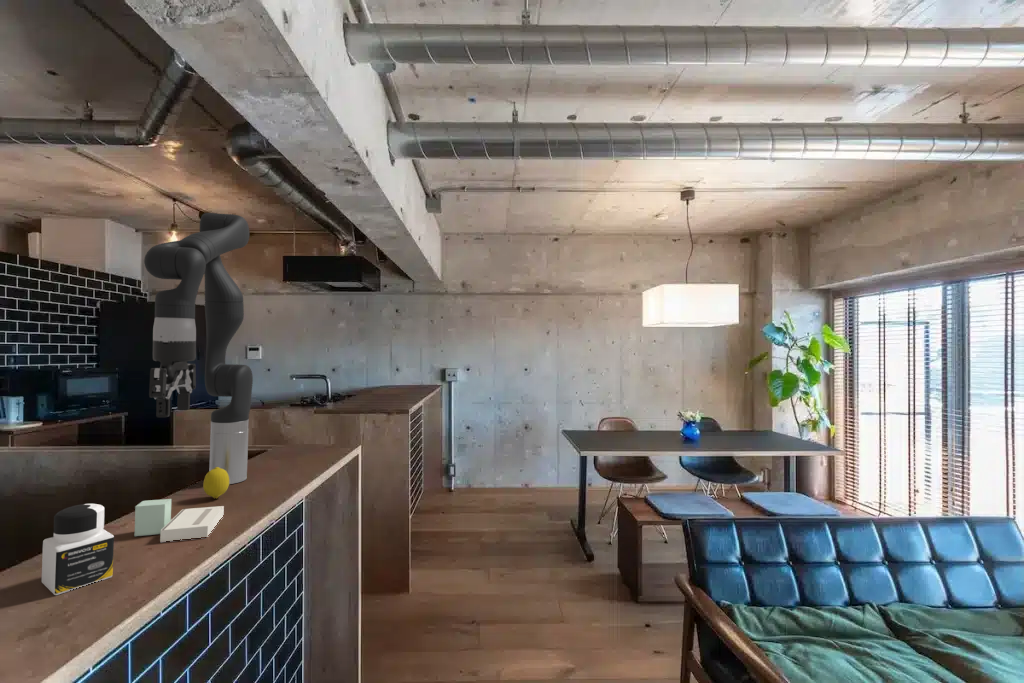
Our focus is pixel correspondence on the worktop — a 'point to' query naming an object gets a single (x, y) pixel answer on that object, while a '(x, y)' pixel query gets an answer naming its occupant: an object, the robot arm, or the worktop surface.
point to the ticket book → (192, 523)
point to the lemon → (216, 482)
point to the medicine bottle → (77, 549)
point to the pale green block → (152, 516)
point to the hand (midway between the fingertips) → (173, 413)
